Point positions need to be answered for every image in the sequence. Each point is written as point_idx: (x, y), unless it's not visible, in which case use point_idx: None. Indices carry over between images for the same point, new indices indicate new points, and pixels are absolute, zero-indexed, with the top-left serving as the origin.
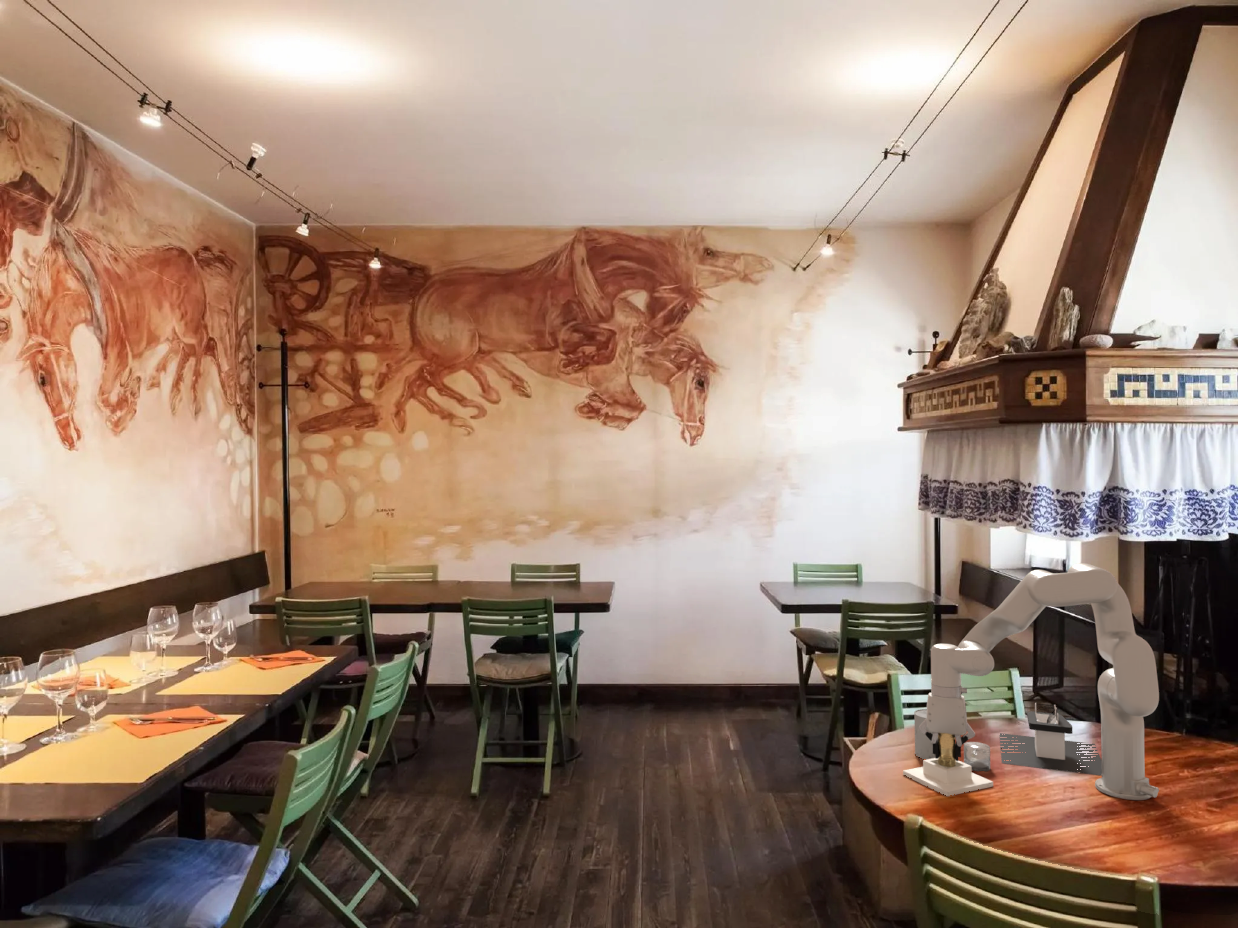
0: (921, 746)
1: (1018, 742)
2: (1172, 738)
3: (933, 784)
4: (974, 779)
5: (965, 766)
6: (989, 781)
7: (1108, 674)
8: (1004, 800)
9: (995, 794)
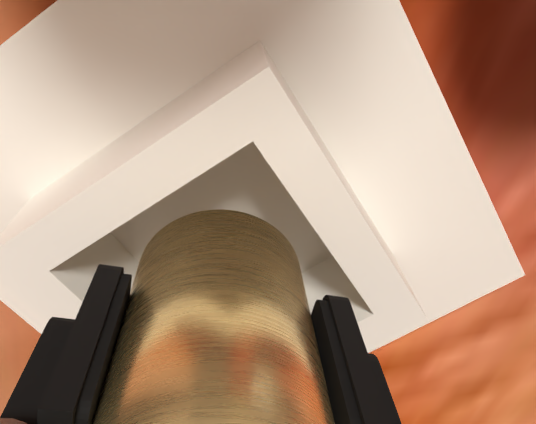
0: None
1: None
2: None
3: None
4: (410, 255)
5: (369, 336)
6: (501, 272)
7: None
8: (467, 414)
9: (458, 360)
